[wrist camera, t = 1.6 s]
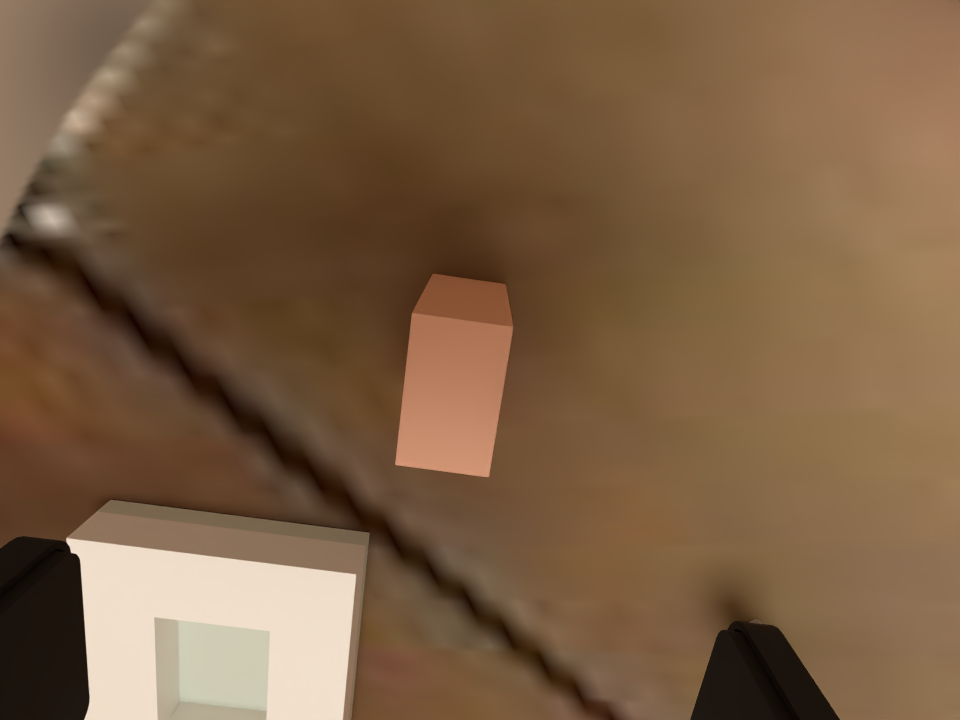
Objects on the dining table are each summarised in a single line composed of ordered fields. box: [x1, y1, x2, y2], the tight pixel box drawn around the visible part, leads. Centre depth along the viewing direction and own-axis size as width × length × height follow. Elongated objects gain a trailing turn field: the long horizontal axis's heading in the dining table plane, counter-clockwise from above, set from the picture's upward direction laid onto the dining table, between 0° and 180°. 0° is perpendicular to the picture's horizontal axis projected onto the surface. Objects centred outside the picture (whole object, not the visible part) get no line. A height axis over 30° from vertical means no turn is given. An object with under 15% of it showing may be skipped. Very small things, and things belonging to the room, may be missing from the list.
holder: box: [66, 500, 370, 720], centre depth 28 cm, size 14×12×3 cm
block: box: [395, 274, 513, 477], centre depth 21 cm, size 5×3×7 cm, turn 172°
